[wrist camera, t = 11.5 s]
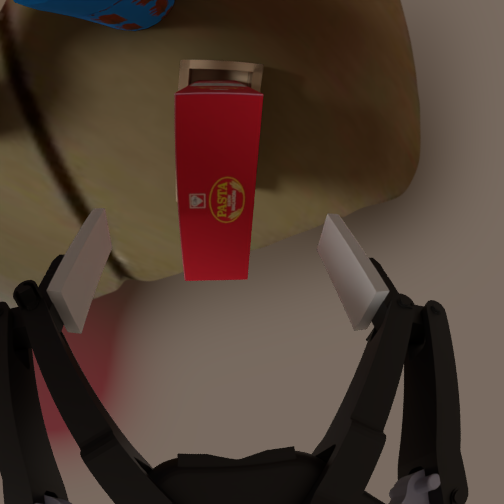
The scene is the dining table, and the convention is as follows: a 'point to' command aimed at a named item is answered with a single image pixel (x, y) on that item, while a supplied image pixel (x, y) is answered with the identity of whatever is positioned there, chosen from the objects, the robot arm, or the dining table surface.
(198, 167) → the food packaging
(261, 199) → the dining table surface
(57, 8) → the thermos
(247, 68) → the u rest
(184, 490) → the robot arm
